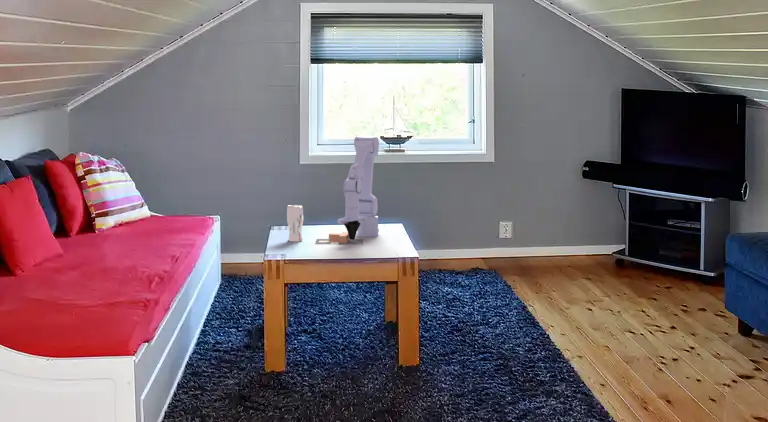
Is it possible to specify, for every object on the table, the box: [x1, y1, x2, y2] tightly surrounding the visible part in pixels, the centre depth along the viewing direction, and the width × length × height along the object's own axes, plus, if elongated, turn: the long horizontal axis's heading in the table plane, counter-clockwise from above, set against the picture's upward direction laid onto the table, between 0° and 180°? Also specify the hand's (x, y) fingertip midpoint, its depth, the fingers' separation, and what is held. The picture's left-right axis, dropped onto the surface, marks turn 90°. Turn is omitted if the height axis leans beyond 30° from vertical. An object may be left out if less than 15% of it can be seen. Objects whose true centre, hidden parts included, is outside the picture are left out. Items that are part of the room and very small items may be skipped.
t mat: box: [314, 238, 364, 245], centre depth 315 cm, size 20×12×1 cm, turn 92°
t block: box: [328, 231, 350, 243], centre depth 316 cm, size 8×9×3 cm
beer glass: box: [286, 204, 304, 243], centre depth 318 cm, size 7×7×15 cm
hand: (352, 239), depth 315 cm, fingers closed
